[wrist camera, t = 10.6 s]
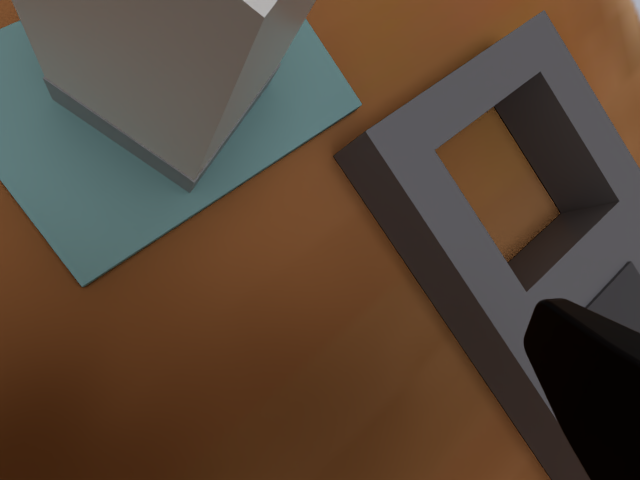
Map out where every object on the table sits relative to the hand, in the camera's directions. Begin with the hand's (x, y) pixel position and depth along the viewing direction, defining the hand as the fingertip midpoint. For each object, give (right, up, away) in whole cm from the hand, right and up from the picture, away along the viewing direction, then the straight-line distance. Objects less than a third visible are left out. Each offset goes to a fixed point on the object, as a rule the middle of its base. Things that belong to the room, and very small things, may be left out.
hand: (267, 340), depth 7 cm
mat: (-4, +7, +10) cm, 13 cm away
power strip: (+10, 0, +15) cm, 18 cm away
